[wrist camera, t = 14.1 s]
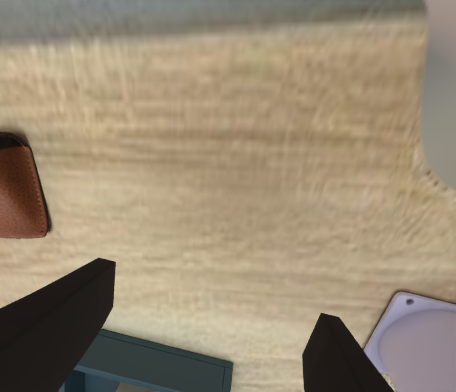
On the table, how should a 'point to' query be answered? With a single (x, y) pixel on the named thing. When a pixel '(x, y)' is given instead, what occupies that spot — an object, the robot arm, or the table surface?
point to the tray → (145, 367)
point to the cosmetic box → (131, 388)
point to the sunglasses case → (20, 191)
